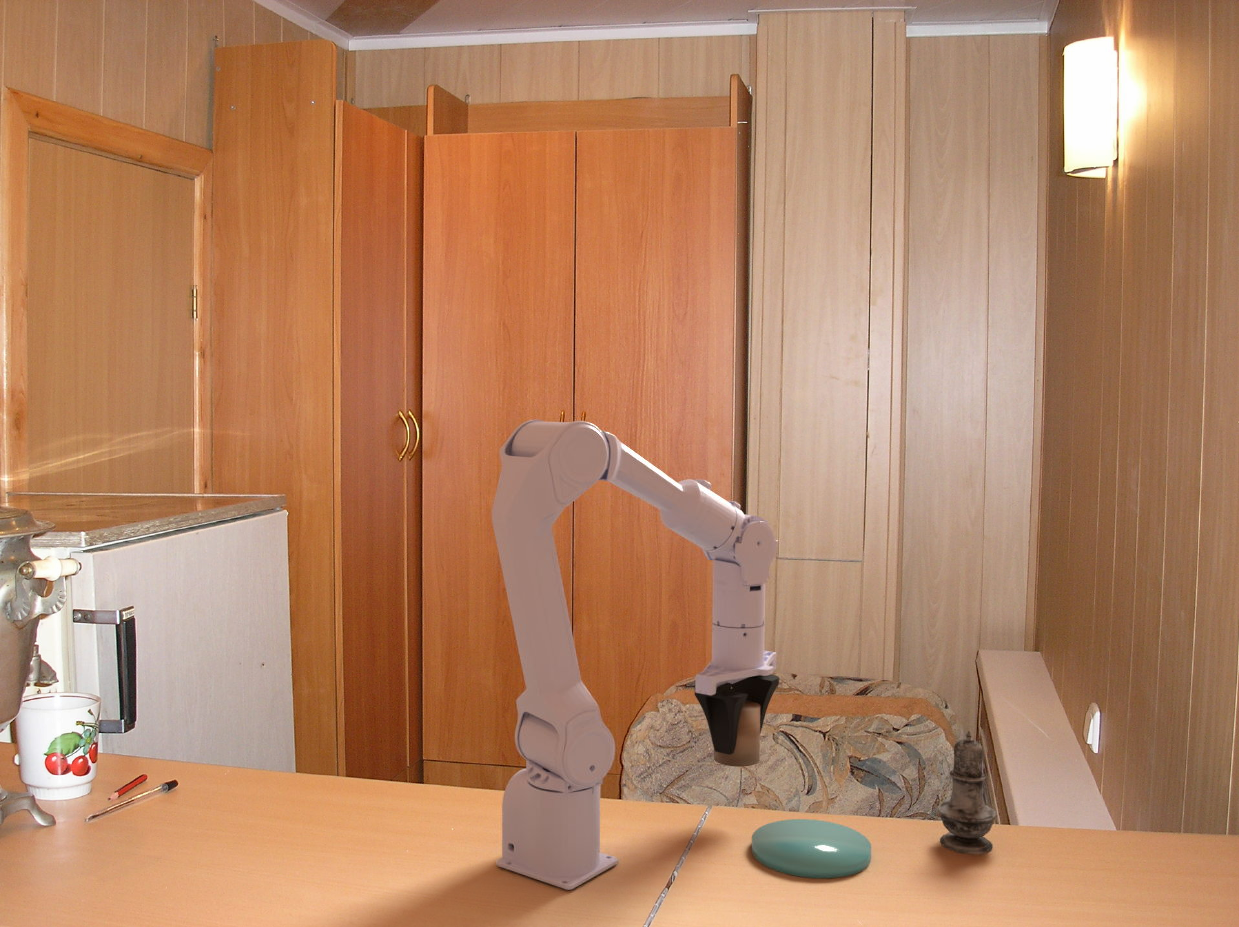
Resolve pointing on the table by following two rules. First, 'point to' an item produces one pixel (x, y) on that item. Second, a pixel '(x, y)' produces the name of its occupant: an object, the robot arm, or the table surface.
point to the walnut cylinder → (745, 739)
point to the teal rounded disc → (811, 848)
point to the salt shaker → (967, 802)
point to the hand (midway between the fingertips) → (736, 745)
